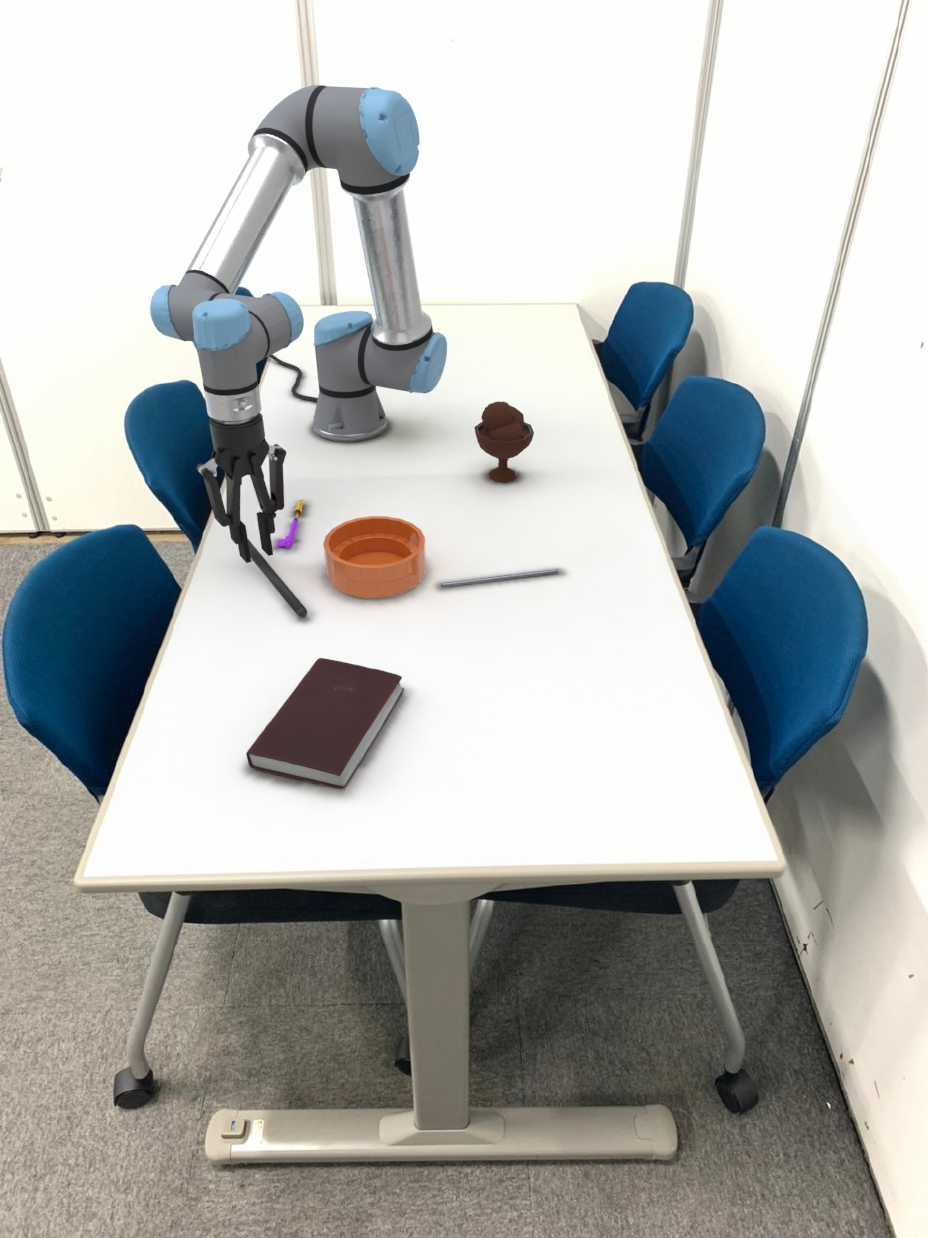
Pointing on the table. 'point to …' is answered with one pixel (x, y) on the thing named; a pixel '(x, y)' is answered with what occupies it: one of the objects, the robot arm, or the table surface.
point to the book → (327, 723)
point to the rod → (499, 578)
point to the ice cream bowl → (503, 437)
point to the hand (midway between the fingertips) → (256, 554)
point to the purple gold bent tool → (290, 538)
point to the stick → (277, 582)
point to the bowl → (375, 556)
